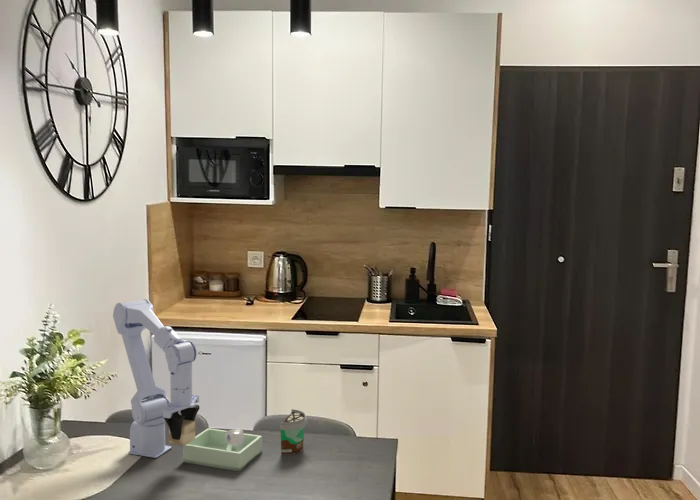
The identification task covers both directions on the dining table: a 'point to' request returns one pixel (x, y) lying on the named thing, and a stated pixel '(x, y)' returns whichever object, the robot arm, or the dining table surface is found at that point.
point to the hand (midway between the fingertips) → (181, 435)
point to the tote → (221, 450)
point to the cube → (185, 433)
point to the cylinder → (235, 440)
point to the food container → (293, 432)
